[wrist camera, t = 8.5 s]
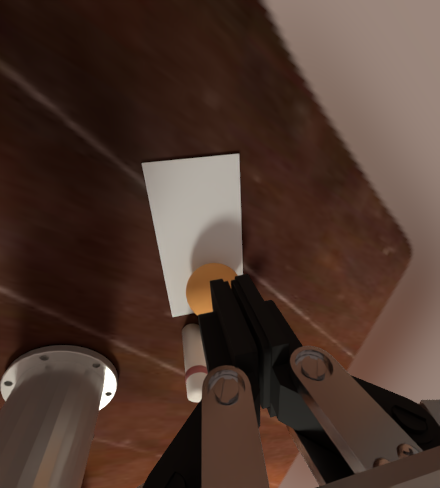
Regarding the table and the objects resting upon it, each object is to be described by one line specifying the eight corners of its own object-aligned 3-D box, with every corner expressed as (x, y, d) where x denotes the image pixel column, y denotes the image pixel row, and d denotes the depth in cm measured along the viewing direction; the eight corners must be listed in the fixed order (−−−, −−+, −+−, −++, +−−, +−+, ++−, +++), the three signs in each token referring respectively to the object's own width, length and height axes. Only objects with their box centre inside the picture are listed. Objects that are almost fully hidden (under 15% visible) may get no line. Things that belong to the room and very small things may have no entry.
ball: (251, 310, 23) (239, 250, 25) (186, 321, 22) (179, 258, 24) (244, 319, 28) (234, 269, 30) (192, 328, 27) (186, 277, 30)
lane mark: (243, 302, 32) (243, 303, 31) (172, 315, 30) (172, 317, 30) (238, 153, 24) (239, 153, 23) (141, 162, 22) (141, 163, 22)
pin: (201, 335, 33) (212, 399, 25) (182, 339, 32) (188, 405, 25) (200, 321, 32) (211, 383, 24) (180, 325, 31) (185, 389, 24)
